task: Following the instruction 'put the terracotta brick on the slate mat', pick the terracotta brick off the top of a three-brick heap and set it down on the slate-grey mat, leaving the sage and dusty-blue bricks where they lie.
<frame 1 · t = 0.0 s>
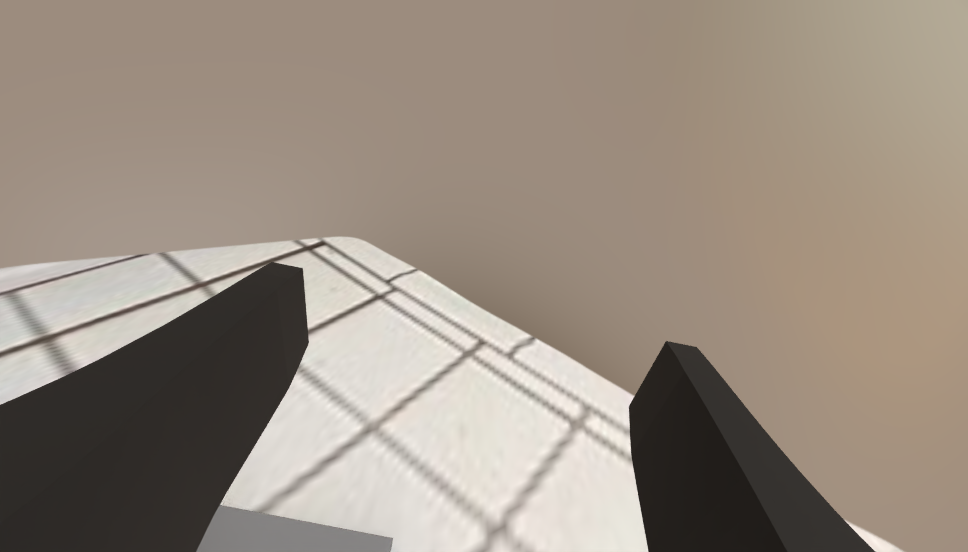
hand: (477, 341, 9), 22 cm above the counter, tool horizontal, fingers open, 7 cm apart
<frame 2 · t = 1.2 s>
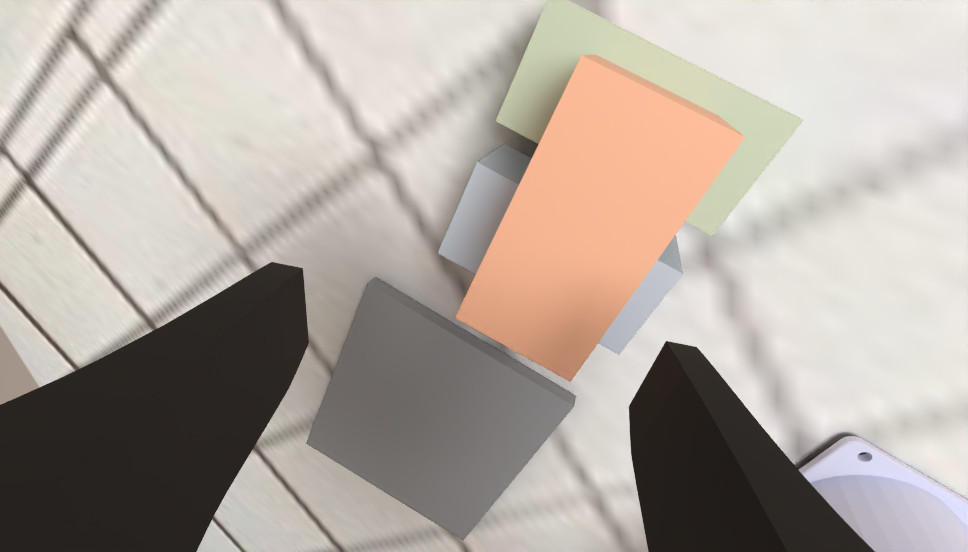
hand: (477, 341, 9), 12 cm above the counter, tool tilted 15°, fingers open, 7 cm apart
sage brick: (637, 106, 18), on the counter, touching terracotta brick
slate mat: (426, 418, 28), on the counter
terracotta brick: (589, 201, 16), point 4 cm above the counter, touching blue brick, sage brick
blue brick: (566, 227, 21), on the counter, touching terracotta brick
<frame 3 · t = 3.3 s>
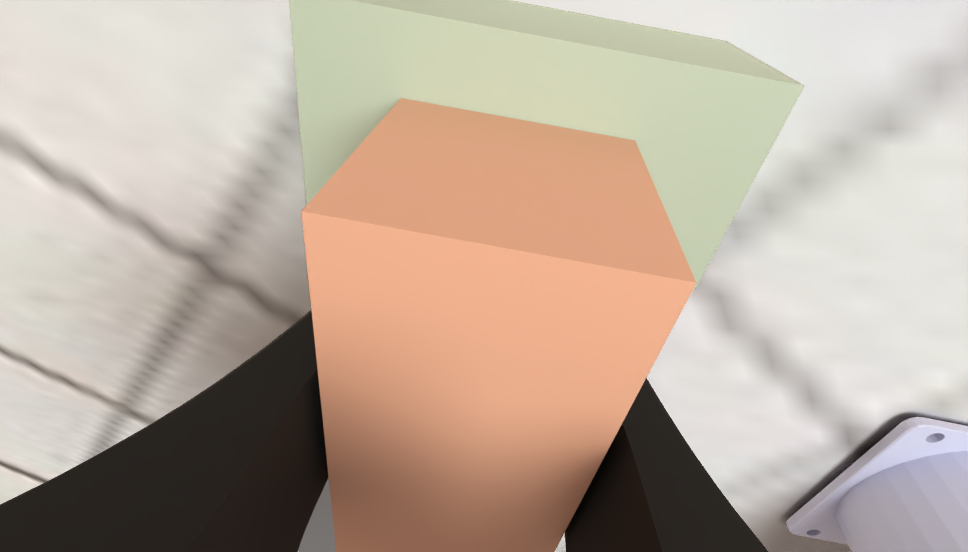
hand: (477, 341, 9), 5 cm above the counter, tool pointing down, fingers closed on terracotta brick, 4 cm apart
sage brick: (527, 97, 12), on the counter
slate mat: (415, 506, 24), on the counter
terracotta brick: (484, 299, 10), point 4 cm above the counter, touching gripper
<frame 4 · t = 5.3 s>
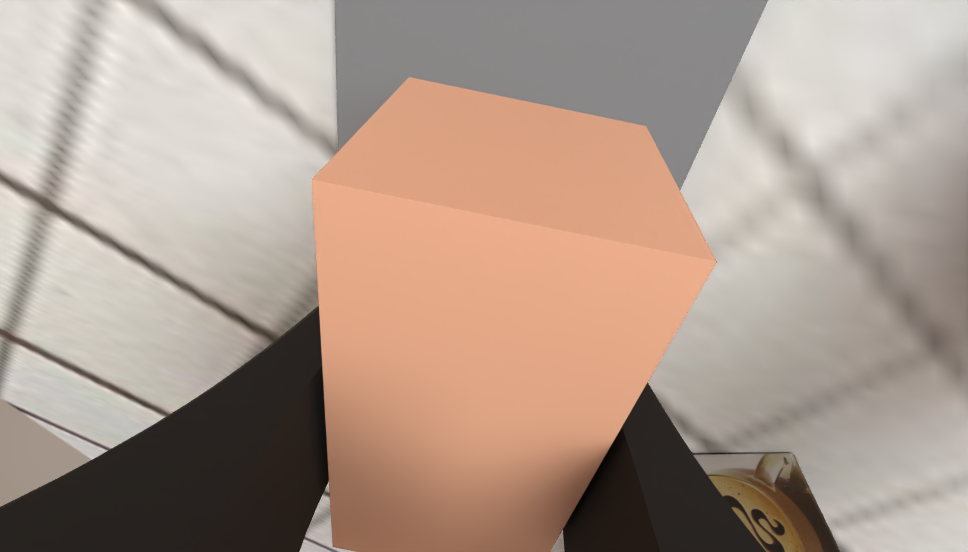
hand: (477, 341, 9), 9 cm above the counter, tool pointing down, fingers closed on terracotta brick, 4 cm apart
slate mat: (507, 163, 17), on the counter
terracotta brick: (486, 288, 10), point 8 cm above the counter, touching gripper
coffee box: (700, 480, 28), on the counter
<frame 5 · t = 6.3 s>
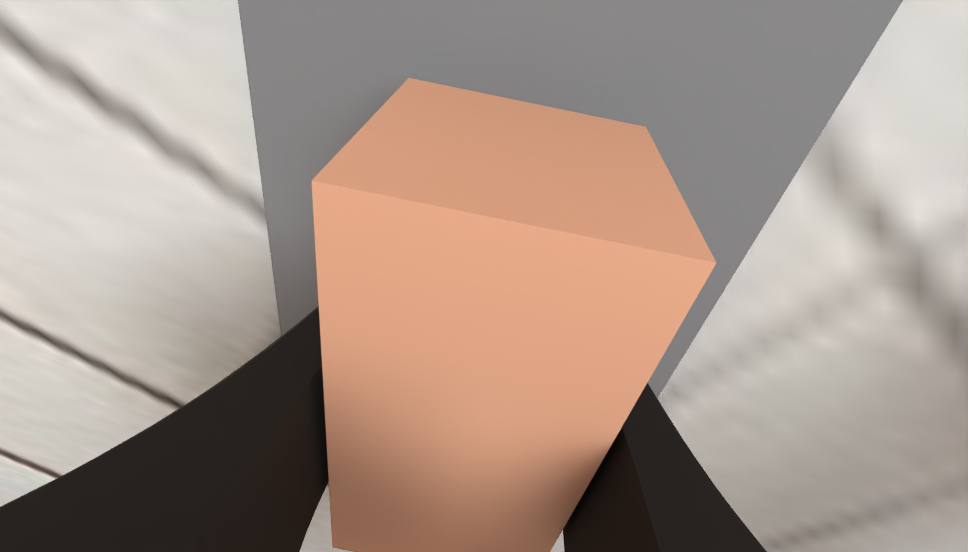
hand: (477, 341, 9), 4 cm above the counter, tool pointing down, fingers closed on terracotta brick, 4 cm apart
slate mat: (496, 235, 13), on the counter
terracotta brick: (486, 288, 10), point 3 cm above the counter, touching gripper
when the fingers open (3 cm above the counter, at t = 7.3 s): terracotta brick drops 1 cm, resting on slate mat.
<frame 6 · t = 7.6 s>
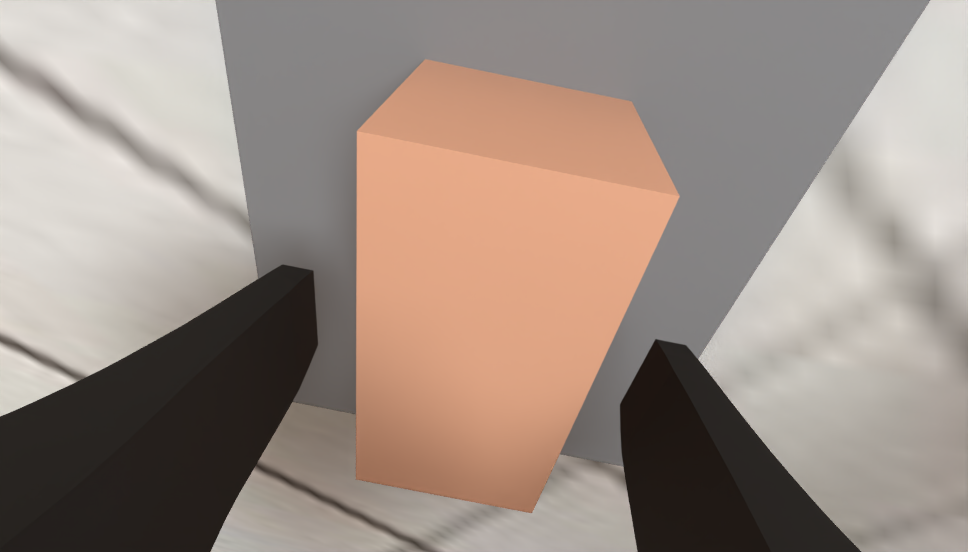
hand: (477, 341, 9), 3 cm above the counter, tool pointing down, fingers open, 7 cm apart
slate mat: (492, 249, 12), on the counter
terracotta brick: (491, 252, 11), point 1 cm above the counter, touching slate mat
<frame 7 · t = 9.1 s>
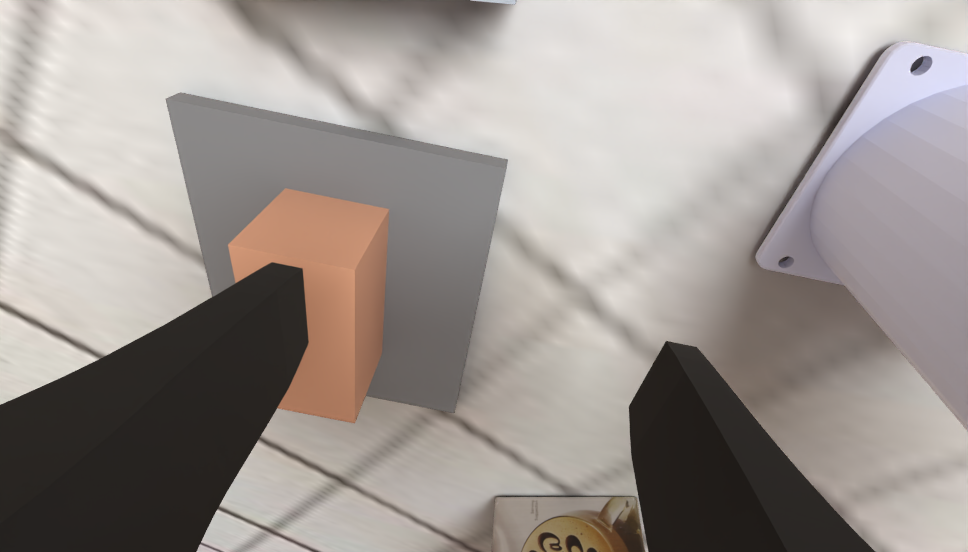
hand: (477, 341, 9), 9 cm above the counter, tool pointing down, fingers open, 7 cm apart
slate mat: (346, 278, 21), on the counter
terracotta brick: (339, 280, 20), point 1 cm above the counter, touching slate mat
coffee box: (568, 516, 32), on the counter
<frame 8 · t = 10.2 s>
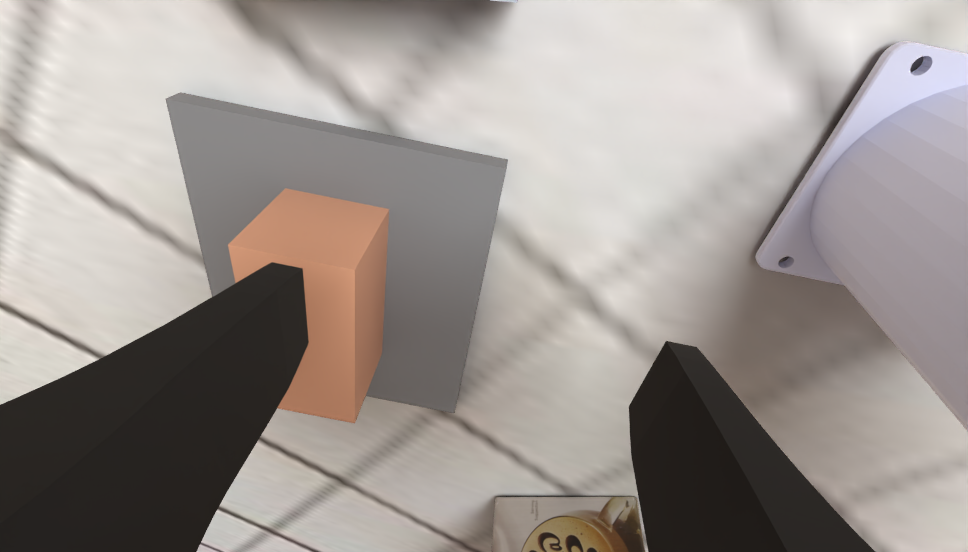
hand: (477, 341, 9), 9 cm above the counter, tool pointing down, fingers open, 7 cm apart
slate mat: (346, 278, 21), on the counter
terracotta brick: (339, 280, 20), point 1 cm above the counter, touching slate mat
coffee box: (568, 516, 32), on the counter
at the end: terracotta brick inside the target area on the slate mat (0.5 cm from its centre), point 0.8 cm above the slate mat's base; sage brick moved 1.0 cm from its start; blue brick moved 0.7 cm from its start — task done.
